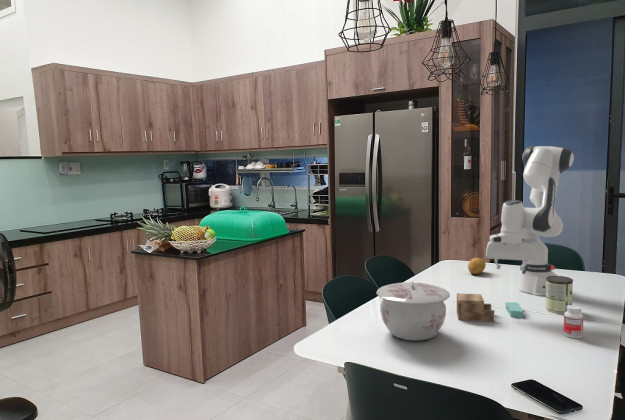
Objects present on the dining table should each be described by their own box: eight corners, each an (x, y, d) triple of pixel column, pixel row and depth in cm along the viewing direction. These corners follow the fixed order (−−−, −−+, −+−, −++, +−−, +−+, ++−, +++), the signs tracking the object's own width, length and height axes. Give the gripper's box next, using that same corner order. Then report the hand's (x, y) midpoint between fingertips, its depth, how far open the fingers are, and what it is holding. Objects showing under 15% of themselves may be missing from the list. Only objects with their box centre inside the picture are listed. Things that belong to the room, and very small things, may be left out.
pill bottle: (570, 331, 173) (571, 303, 172) (586, 336, 167) (587, 307, 166) (559, 334, 170) (560, 306, 169) (575, 340, 164) (576, 310, 163)
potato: (463, 258, 261) (479, 259, 255) (472, 256, 271) (488, 256, 265) (464, 275, 261) (480, 276, 255) (473, 271, 271) (489, 272, 265)
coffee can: (544, 305, 204) (545, 274, 202) (570, 307, 199) (571, 276, 198) (545, 312, 194) (546, 280, 193) (573, 315, 190) (574, 282, 189)
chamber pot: (407, 355, 156) (407, 296, 154) (363, 330, 180) (362, 279, 178) (466, 338, 169) (467, 284, 167) (417, 317, 193) (417, 269, 191)
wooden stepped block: (490, 313, 195) (490, 294, 194) (494, 321, 185) (494, 301, 185) (456, 312, 198) (456, 293, 197) (458, 319, 189) (458, 300, 188)
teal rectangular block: (505, 308, 202) (505, 302, 202) (517, 309, 201) (517, 302, 200) (510, 317, 190) (510, 310, 190) (523, 318, 189) (523, 311, 189)
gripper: (536, 238, 195) (535, 269, 196) (486, 235, 201) (485, 266, 202) (539, 240, 189) (537, 272, 190) (486, 238, 195) (485, 269, 196)
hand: (510, 269), depth 196 cm, fingers open, 8 cm apart
